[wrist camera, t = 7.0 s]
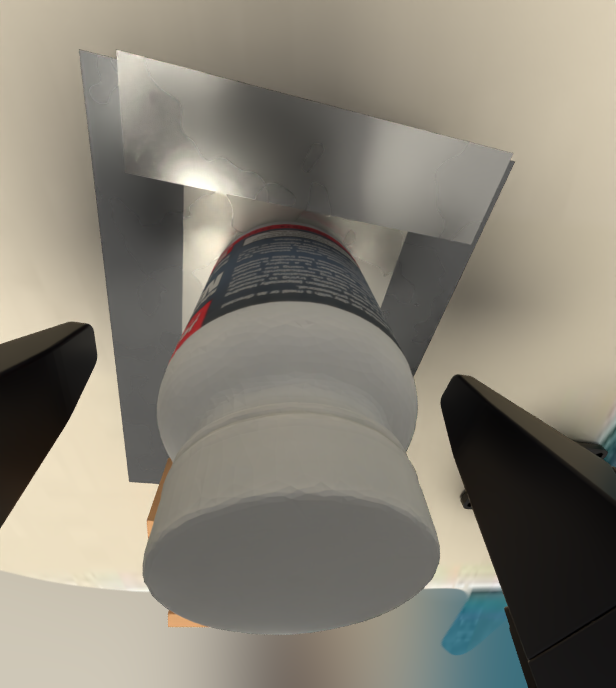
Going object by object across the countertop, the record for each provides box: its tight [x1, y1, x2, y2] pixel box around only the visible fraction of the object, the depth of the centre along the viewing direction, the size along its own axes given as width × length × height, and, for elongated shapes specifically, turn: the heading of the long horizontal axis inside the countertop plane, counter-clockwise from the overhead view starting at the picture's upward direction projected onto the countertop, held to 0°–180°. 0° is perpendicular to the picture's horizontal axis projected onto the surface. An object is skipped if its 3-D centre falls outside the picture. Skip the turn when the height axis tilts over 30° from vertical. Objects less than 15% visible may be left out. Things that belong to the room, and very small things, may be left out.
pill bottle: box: [143, 222, 440, 635], centre depth 8 cm, size 5×5×9 cm
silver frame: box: [79, 49, 515, 484], centre depth 13 cm, size 12×17×4 cm
